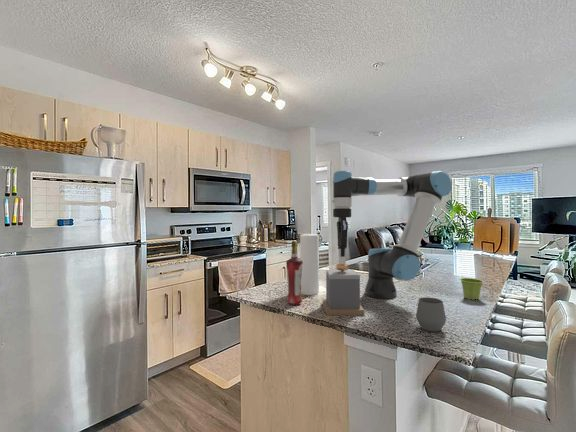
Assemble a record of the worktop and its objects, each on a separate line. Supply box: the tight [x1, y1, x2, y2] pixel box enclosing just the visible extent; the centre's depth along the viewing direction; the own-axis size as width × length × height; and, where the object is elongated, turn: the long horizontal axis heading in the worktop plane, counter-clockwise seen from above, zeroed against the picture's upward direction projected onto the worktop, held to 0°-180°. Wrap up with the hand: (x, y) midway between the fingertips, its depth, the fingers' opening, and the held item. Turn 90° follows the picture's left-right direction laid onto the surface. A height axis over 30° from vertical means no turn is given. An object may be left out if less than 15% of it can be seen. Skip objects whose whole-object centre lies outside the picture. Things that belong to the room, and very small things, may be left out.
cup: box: [415, 296, 447, 333], centre depth 106 cm, size 10×9×10 cm
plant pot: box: [459, 277, 484, 301], centre depth 144 cm, size 9×9×9 cm
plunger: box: [335, 263, 349, 273], centre depth 128 cm, size 9×9×16 cm
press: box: [322, 269, 365, 316], centre depth 128 cm, size 15×15×16 cm
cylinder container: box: [299, 233, 320, 296], centre depth 155 cm, size 9×9×30 cm
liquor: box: [286, 240, 303, 306], centre depth 136 cm, size 7×7×28 cm
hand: (342, 263), depth 128 cm, fingers closed
